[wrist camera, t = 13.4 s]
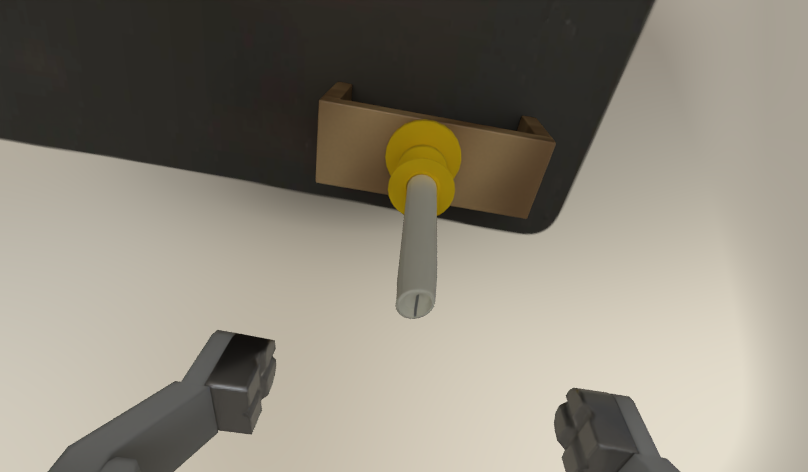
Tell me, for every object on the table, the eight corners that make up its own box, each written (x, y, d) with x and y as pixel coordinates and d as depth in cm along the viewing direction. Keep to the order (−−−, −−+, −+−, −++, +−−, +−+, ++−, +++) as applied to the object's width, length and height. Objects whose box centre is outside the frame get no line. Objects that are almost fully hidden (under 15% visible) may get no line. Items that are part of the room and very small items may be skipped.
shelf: (536, 117, 31) (556, 143, 26) (512, 185, 34) (527, 219, 29) (337, 81, 30) (318, 99, 25) (332, 153, 33) (315, 182, 28)
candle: (464, 120, 25) (499, 261, 12) (457, 192, 28) (478, 369, 15) (385, 117, 25) (336, 252, 12) (385, 188, 28) (345, 360, 15)
